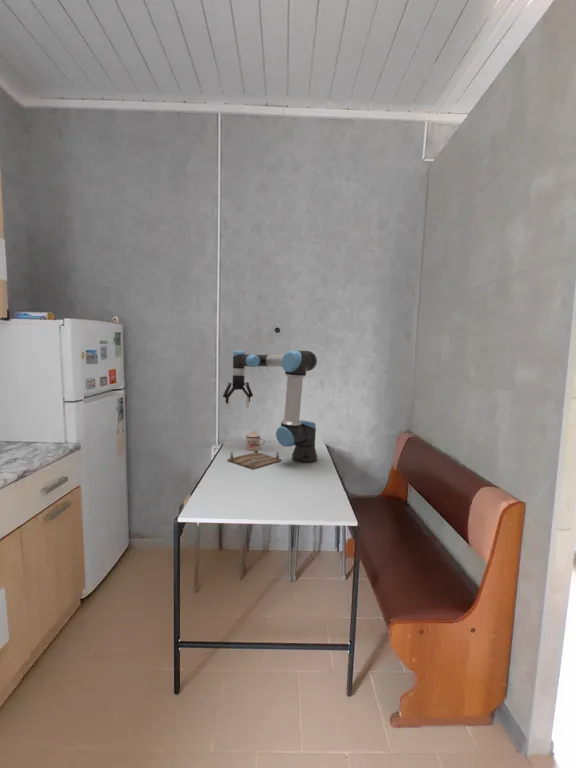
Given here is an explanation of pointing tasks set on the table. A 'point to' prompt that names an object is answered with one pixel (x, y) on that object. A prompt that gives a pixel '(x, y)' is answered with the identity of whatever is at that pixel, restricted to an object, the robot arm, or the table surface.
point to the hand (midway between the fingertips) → (237, 407)
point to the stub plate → (258, 460)
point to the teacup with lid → (253, 441)
